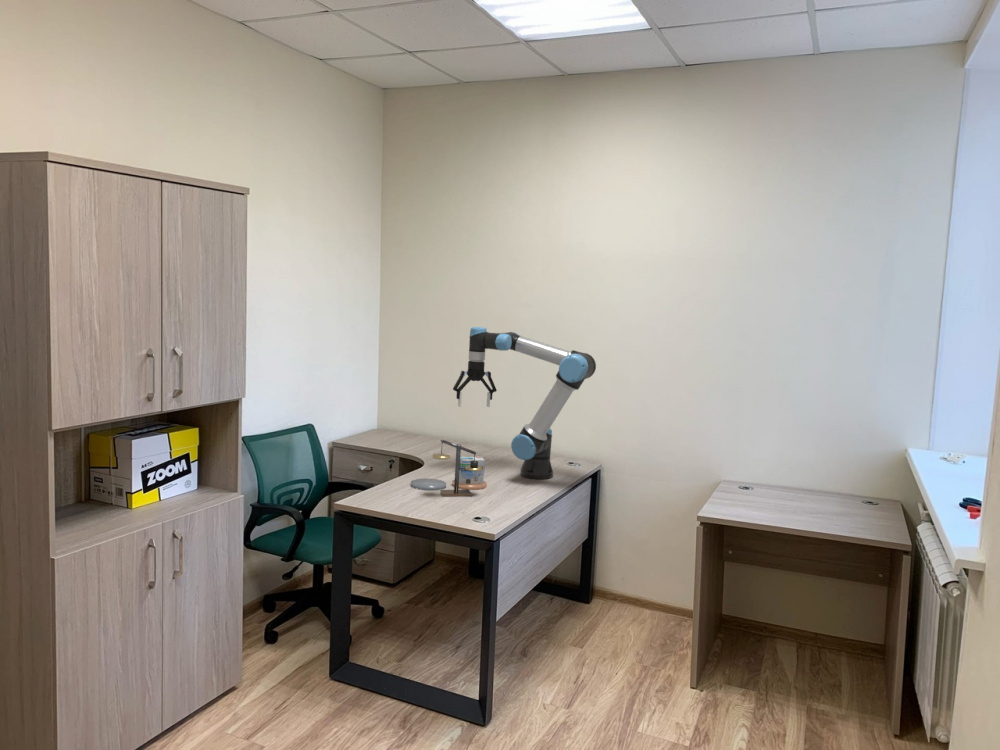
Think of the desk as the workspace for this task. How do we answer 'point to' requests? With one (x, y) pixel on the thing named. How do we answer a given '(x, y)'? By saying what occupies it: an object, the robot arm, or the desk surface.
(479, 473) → the light bulb box
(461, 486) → the terracotta dish
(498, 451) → the desk surface
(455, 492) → the balance
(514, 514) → the desk surface
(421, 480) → the slate dish
